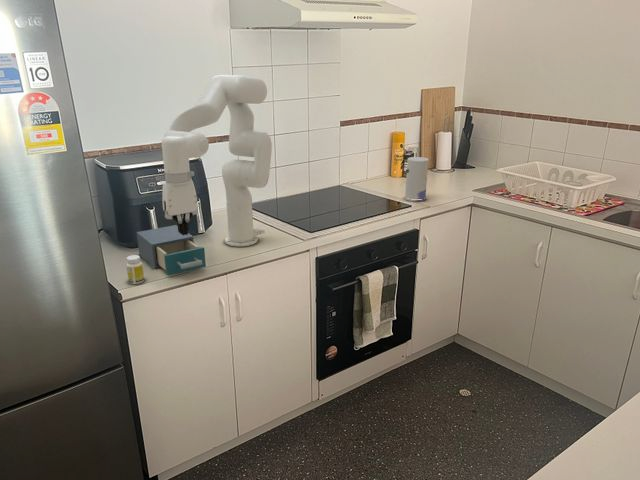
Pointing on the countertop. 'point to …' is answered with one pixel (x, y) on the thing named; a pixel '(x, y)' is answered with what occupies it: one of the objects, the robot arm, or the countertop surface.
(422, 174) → the container
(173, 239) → the drawer cabinet
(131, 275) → the supplement bottle
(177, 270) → the drawer
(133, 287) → the countertop surface
